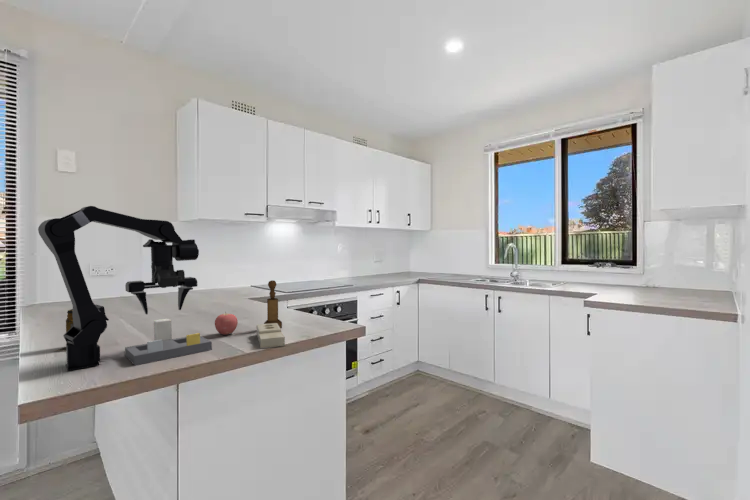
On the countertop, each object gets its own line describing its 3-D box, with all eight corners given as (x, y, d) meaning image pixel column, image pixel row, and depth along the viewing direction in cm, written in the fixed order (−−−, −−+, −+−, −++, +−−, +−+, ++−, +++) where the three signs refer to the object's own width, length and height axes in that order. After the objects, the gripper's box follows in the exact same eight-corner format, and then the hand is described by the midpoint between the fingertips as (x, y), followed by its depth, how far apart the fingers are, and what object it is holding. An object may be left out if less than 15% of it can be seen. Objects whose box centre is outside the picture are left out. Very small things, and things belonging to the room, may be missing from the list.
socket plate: (134, 365, 100) (134, 344, 99) (125, 355, 108) (124, 337, 108) (211, 349, 113) (211, 331, 113) (197, 342, 122) (197, 325, 122)
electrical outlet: (260, 336, 114) (256, 324, 131) (260, 349, 114) (256, 335, 131) (284, 333, 117) (277, 322, 134) (284, 346, 117) (277, 333, 134)
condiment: (97, 343, 122) (96, 307, 122) (78, 351, 114) (76, 312, 113) (74, 344, 122) (73, 307, 122) (53, 352, 113) (52, 312, 113)
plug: (157, 348, 116) (157, 322, 116) (154, 345, 119) (153, 320, 119) (171, 345, 119) (171, 320, 119) (168, 343, 122) (167, 318, 122)
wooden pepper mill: (279, 330, 137) (278, 281, 137) (261, 330, 138) (260, 281, 137) (283, 326, 144) (283, 279, 144) (267, 326, 144) (266, 279, 144)
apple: (211, 334, 132) (210, 312, 132) (230, 330, 138) (230, 309, 138) (221, 338, 127) (220, 314, 127) (241, 333, 133) (240, 311, 133)
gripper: (131, 264, 103) (133, 320, 104) (202, 261, 116) (204, 311, 116) (124, 263, 111) (126, 315, 112) (191, 260, 124) (192, 307, 125)
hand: (163, 312), depth 116 cm, fingers open, 9 cm apart
